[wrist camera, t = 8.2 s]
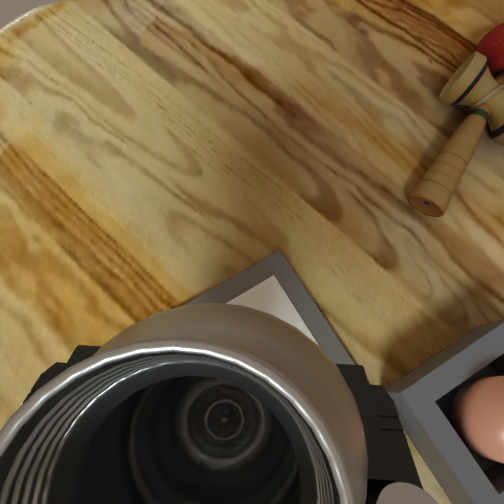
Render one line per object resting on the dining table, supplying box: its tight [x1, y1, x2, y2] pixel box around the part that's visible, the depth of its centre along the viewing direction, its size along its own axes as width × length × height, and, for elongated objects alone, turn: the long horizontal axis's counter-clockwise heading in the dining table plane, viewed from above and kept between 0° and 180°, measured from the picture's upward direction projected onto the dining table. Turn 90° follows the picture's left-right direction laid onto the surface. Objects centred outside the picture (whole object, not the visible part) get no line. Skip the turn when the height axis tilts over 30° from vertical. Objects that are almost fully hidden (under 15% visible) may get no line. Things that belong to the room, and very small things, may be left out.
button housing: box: [385, 319, 504, 504], centre depth 29 cm, size 9×9×4 cm
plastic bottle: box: [0, 303, 368, 504], centre depth 14 cm, size 6×7×20 cm
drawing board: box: [185, 250, 355, 365], centre depth 31 cm, size 18×16×1 cm
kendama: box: [408, 23, 504, 217], centre depth 36 cm, size 8×6×18 cm
